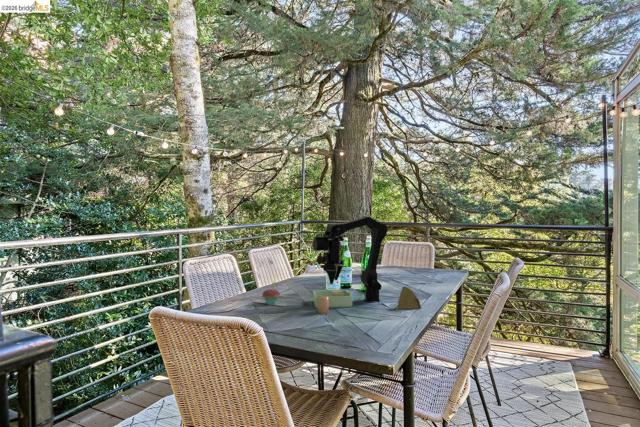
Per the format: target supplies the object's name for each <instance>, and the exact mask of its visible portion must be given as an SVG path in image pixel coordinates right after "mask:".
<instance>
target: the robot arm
mask: <svg viewBox="0 0 640 427" xmlns="http://www.w3.org/2000/svg"><path fill="white" fill-rule="evenodd" d="M364 226H366V227H367V228H368V229H370V235H371V239H372V240H371V244H370V249H369V254H368V259H367V260H368V261H367V265H366V268H365V269H361V273H360V277H359V278H360V281H361V284H363V286H364V288H365V291H364V300H365V301H366V302H367V303H379V302H381V299H380V290H381V289H382V285H381V283H380V282H379V281H378V272H377V267H378V262H379V257H380V253H381V247H382V242H383V241H384V240H385V238H386V236H387V234H388V231H389V230H388V229H389V228H388V226H387V225H386V224H385V223H381V222H379V221H377V220H376V219H374V218H373V217H371V216H365V215H364V216H362V217H360V218H359V217H358V218H356V219H353V220H349V221H346V222H340V223H339V222H337V223H329V224H327V228H326V230H325V232H324V233H323V235H322V236H316V235H315V236H314V239H313V241H312V250H313V251H314V252H318V251H319V252H320V251H327V252H326V254H325V255H320V254H319V255H318V256H317V257H316V260H315V261H316V262H315V263H317V265H319V266H320V265H321V264H323V265H322V270H323V271H324V272H325V273H327V276H328V280H329V284H330V285H333V284H334V281H338V280H339V277H340V275H341V272H342V270H343V268H344V265H345V260H344V259H343V258H341V254H342V251H341V241H343V242H344V241H345V238H343V237H342V235H343V234H345V233H346V232H348V231H350V230H354V229H358V228H361V227H364Z"/></svg>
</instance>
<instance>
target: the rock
mask: <svg viewBox="0 0 640 427" xmlns="http://www.w3.org/2000/svg"><path fill="white" fill-rule="evenodd" d="M396 309H397V310H399V309H400V310H414V309H422V305H421V303H420V299H419V298H418V297H417V296H416V293H414V291H413V290H412V289H411V288H409V287H407V286H402V288H401V291H400V294H399V298H398V301H397V308H396Z"/></svg>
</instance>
